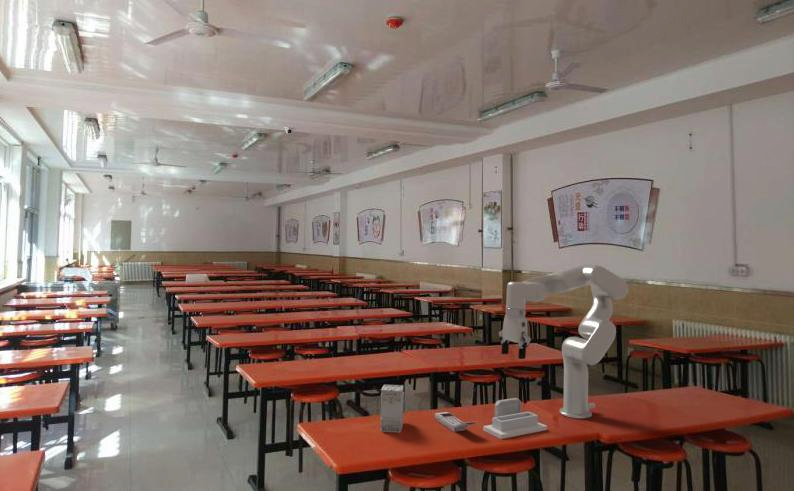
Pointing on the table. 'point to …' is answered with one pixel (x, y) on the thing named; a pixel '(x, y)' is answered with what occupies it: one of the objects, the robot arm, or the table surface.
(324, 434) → the table surface
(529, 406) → the table surface
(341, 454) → the table surface
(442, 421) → the mobile phone
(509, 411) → the grey flat plate
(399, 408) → the circuit breaker
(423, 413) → the table surface
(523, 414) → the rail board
